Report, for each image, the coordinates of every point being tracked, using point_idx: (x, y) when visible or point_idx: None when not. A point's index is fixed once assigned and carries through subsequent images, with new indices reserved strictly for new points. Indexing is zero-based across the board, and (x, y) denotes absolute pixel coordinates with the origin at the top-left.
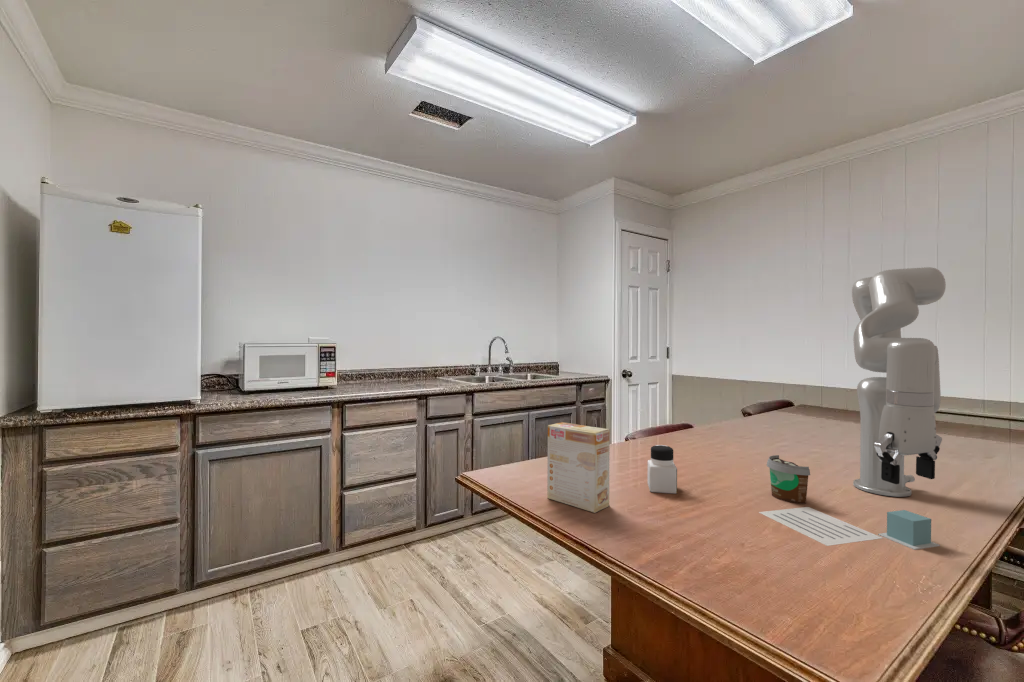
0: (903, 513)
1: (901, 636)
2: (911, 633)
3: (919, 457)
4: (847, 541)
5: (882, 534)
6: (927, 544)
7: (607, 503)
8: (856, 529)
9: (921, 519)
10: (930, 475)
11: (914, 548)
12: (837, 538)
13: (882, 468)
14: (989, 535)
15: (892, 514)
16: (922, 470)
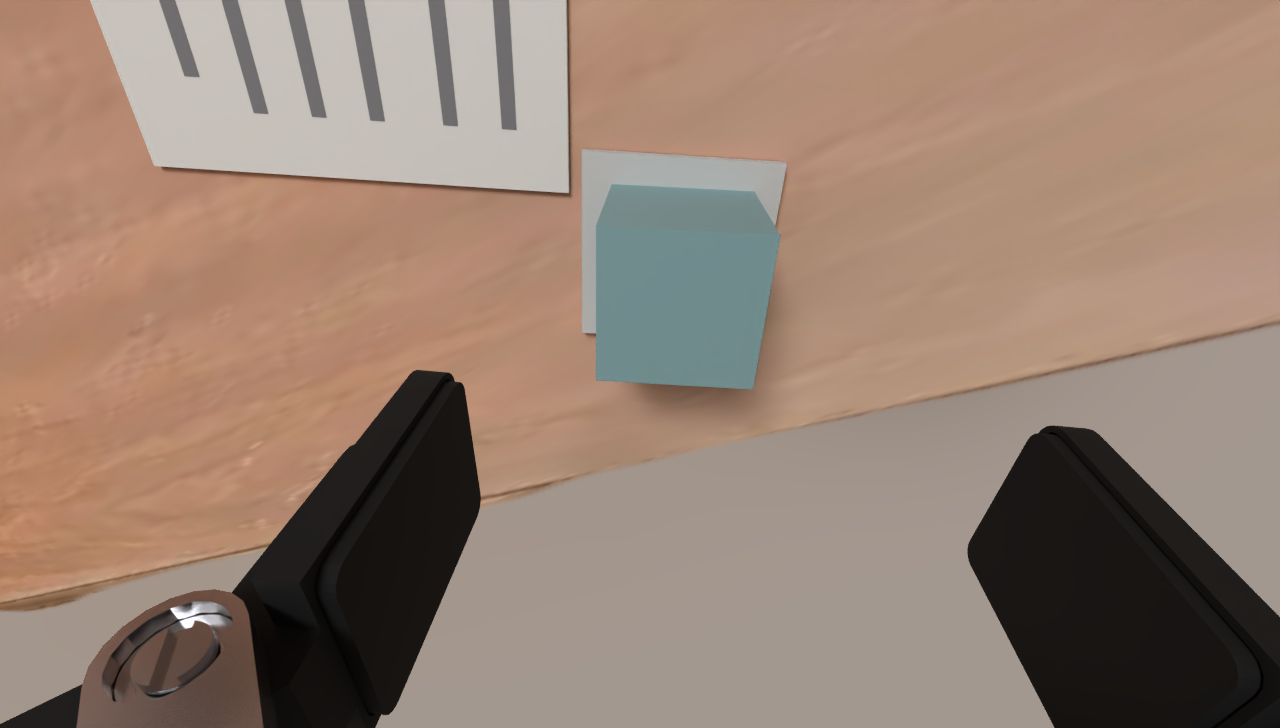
0: (686, 280)
1: (74, 575)
2: (108, 576)
3: (1252, 717)
4: (312, 162)
5: (599, 166)
6: None
7: None
8: (520, 39)
9: (682, 376)
10: (986, 578)
11: (584, 331)
12: (280, 111)
13: (342, 479)
14: (1181, 334)
15: (596, 261)
16: (1043, 549)
